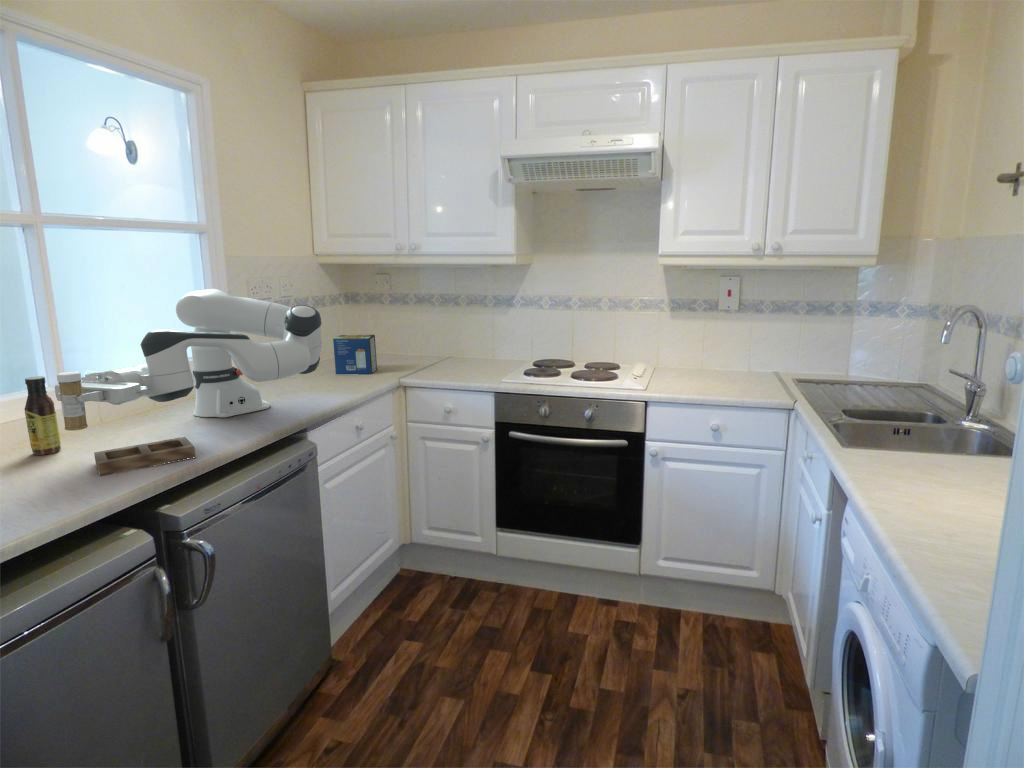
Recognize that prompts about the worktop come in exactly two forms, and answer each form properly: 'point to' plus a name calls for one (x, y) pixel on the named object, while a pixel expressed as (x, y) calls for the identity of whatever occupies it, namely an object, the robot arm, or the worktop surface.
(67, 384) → the sprinkles bottle
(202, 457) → the worktop surface
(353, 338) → the protein box
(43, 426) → the sauce bottle
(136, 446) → the spice caddy
